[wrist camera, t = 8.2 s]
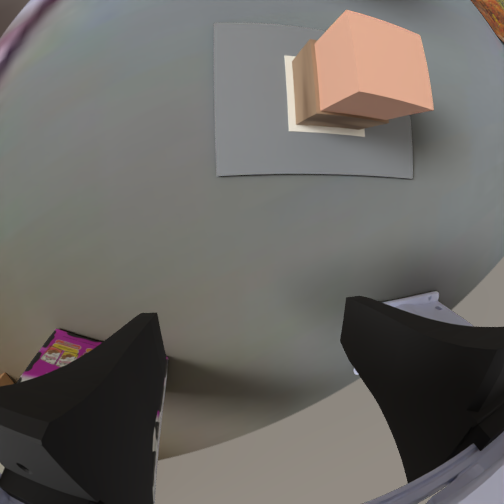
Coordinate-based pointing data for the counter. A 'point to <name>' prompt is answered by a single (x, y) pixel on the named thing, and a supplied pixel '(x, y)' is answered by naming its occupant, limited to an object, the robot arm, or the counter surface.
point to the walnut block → (309, 96)
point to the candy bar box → (67, 350)
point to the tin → (492, 14)
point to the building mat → (288, 113)
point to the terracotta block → (372, 69)
